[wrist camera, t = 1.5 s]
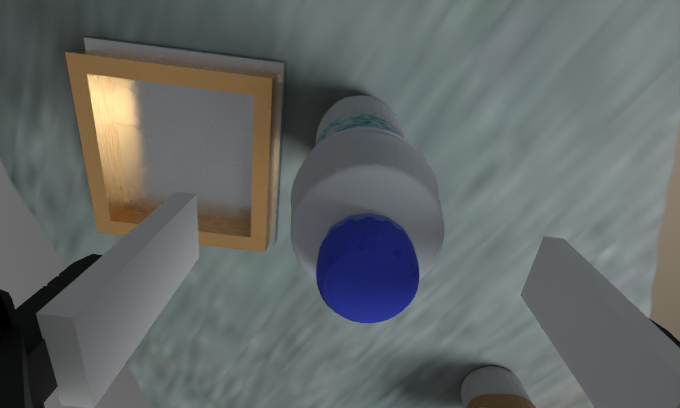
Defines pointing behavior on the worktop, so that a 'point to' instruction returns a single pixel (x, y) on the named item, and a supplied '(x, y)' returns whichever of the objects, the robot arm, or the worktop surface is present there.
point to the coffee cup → (494, 390)
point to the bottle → (365, 212)
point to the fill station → (181, 137)
